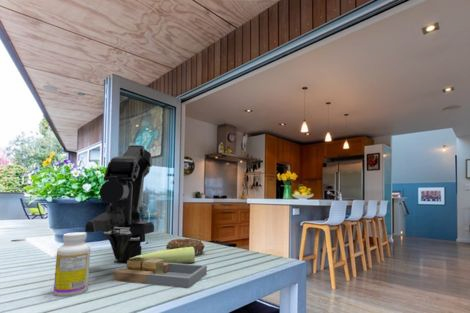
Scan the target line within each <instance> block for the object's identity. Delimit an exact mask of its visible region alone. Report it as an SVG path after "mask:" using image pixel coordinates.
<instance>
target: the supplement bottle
mask: <svg viewBox="0 0 470 313" xmlns="http://www.w3.org/2000/svg"><path fill="white" fill-rule="evenodd" d="M87 233H88V232H85V231H83V232H82V231H79V232H75V231H74V232H67V233H64V234H63V235H62V240H63V244H62V245H61V246H59V247H58V248H57V250H56V260H55V261H56V262H55V272H54V282H53V294H54V295H55V296H57V297H70V296H76V295H80V294H82V293H84V292H86V291H87V290H88V287H89V277H90V276H89V275H90V274H89V273H90V263H91V262H90V260H91V259H90V258H91V246H90V245H89V244H88V243H86V240H87V236H88V234H87Z"/></svg>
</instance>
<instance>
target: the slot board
mask: <svg viewBox="0 0 470 313" xmlns="http://www.w3.org/2000/svg"><path fill="white" fill-rule="evenodd" d="M168 270H169V263H165V262H164V265H163V275H164V274H165V273H167V272H168ZM149 273H150V274H153V272H151V271H139V270H128V269H127V268H125V269H124V268H119V269H117V270H115V271H113V276H112V281H114V282H122V283H123V282H124V283H132V284H144V285H148V284H147V274H149Z"/></svg>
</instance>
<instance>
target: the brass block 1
mask: <svg viewBox="0 0 470 313" xmlns="http://www.w3.org/2000/svg"><path fill="white" fill-rule="evenodd" d="M148 259H149V258H141V257H135V258H133V259H130V260H127V263H126V269H128V270H139V271H142V262H143V261H145V260H148Z"/></svg>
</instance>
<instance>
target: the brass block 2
mask: <svg viewBox="0 0 470 313" xmlns="http://www.w3.org/2000/svg"><path fill="white" fill-rule="evenodd" d="M163 265H164V259H154V258H150V259H148V260H145V261H143V262H142V271H151V272H153V274H161V275H163Z"/></svg>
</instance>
